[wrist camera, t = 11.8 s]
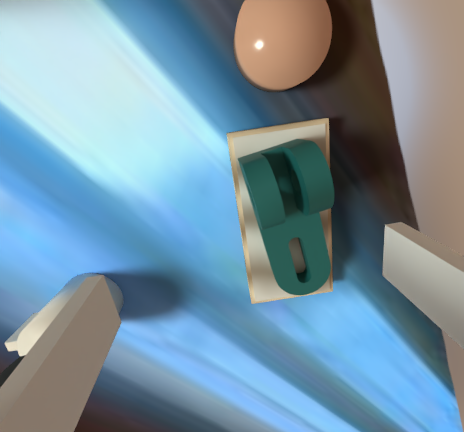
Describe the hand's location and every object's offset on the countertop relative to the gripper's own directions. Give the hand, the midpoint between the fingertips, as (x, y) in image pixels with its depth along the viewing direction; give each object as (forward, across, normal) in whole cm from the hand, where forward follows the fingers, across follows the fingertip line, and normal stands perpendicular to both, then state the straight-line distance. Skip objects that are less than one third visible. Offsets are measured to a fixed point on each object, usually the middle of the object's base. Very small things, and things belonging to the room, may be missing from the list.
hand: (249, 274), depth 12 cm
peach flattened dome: (+22, +8, +13) cm, 27 cm away
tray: (+21, +6, -6) cm, 23 cm away
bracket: (+18, +6, -6) cm, 20 cm away
